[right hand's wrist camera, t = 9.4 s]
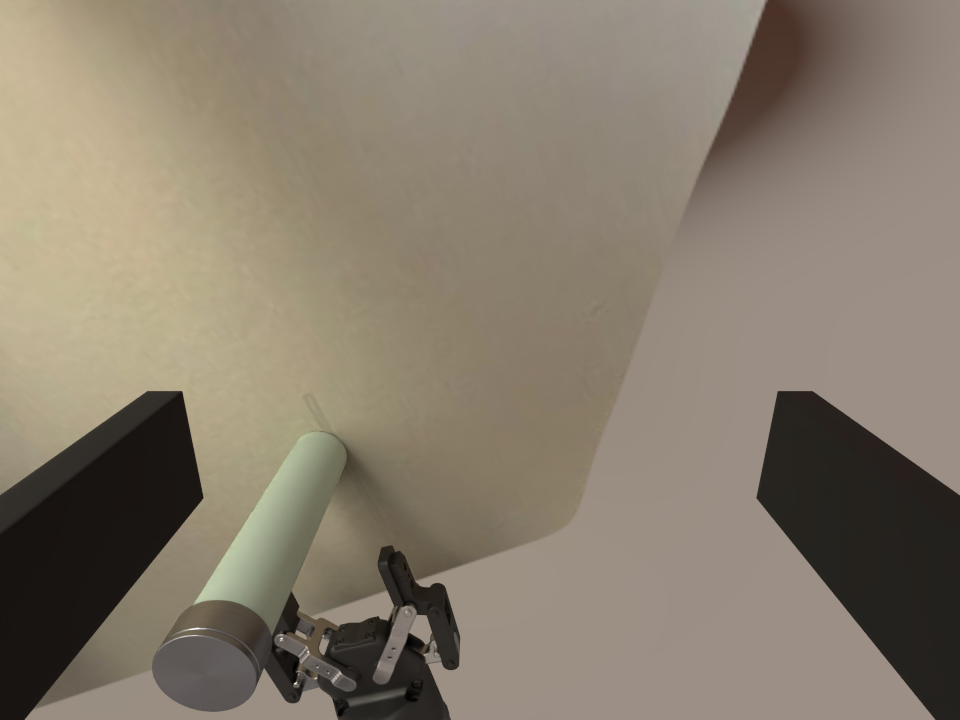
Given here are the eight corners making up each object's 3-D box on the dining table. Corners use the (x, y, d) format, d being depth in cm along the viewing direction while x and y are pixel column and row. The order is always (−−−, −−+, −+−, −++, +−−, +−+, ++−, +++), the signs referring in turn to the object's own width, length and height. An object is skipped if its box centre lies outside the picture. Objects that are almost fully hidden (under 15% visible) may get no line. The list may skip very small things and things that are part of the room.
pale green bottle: (350, 435, 42) (256, 638, 25) (344, 481, 44) (252, 704, 26) (295, 426, 42) (162, 625, 24) (291, 473, 43) (162, 692, 26)
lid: (275, 606, 26) (259, 644, 24) (269, 677, 28) (253, 718, 26) (176, 592, 26) (151, 628, 24) (175, 664, 27) (152, 704, 25)
